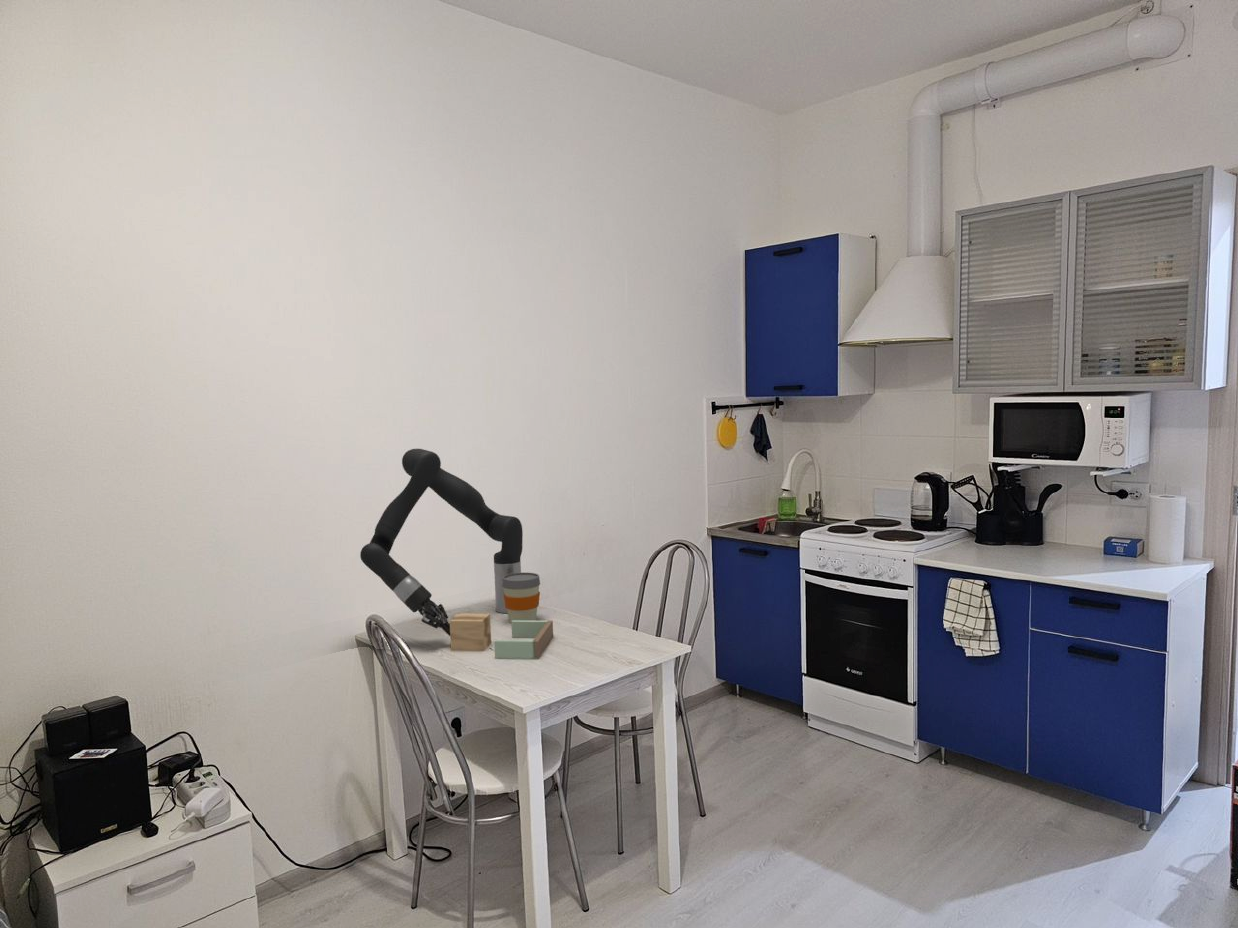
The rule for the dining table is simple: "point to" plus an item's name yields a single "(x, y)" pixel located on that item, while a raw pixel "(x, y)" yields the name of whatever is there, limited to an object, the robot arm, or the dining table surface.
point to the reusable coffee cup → (521, 595)
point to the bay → (525, 647)
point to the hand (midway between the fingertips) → (453, 633)
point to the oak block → (470, 632)
